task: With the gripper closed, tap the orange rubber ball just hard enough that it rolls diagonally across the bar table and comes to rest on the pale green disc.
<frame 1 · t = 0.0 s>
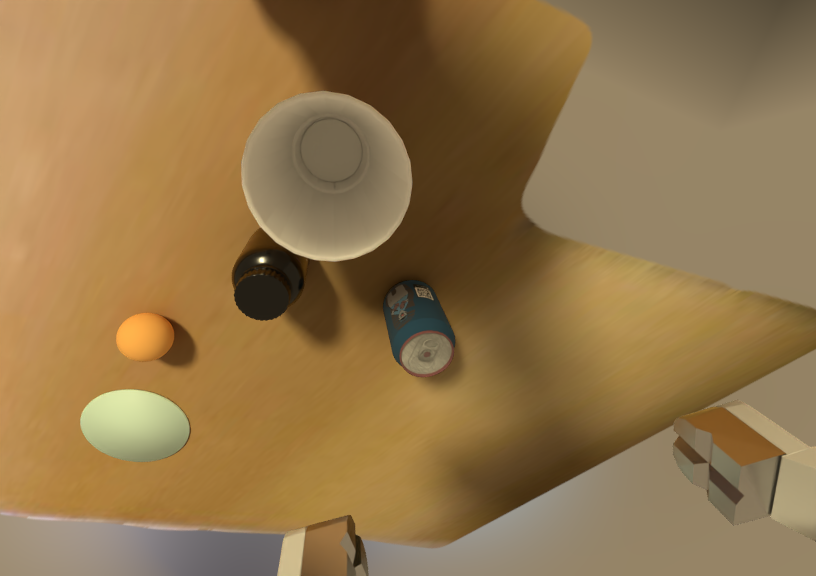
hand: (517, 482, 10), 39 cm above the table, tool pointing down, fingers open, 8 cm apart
cup: (331, 150, 42), on the table
supplement bottle: (279, 249, 46), on the table
pale green disc: (137, 426, 54), on the table
soda can: (408, 299, 52), on the table
ball: (146, 337, 45), on the table
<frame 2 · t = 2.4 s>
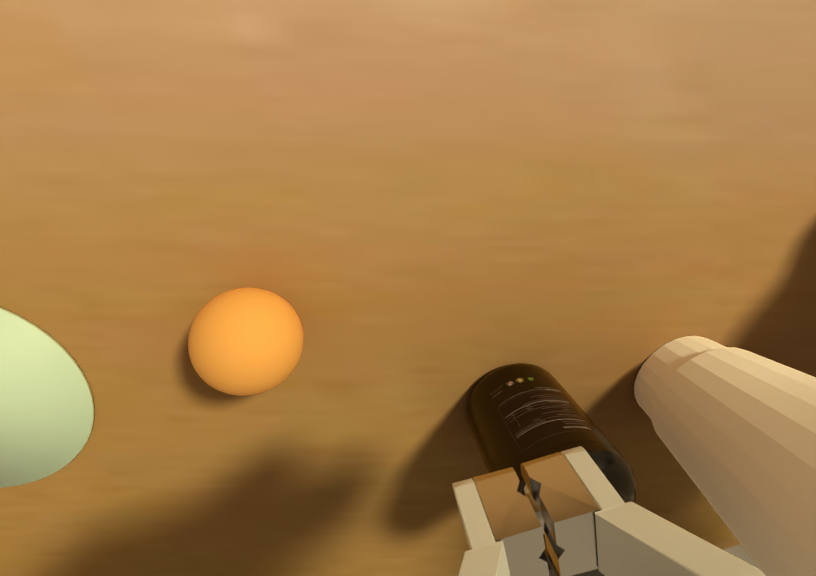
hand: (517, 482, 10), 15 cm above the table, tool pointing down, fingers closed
cup: (675, 375, 30), on the table
supplement bottle: (510, 398, 28), on the table
ball: (248, 340, 21), on the table
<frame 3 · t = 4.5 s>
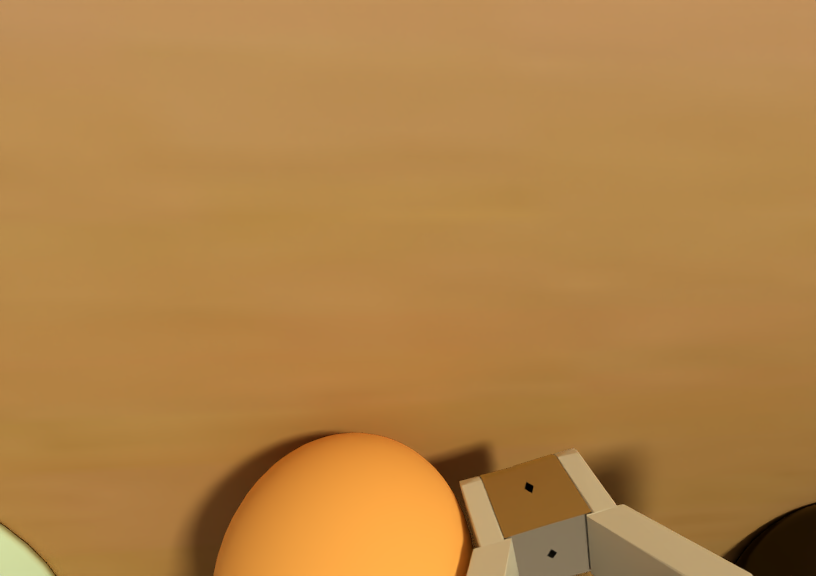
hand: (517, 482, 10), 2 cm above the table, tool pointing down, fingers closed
supplement bottle: (795, 549, 16), on the table
ball: (349, 565, 9), on the table
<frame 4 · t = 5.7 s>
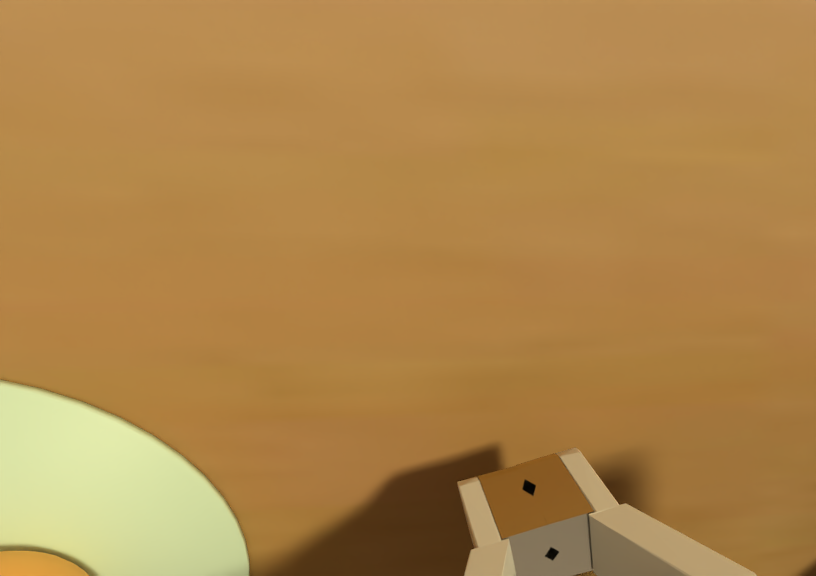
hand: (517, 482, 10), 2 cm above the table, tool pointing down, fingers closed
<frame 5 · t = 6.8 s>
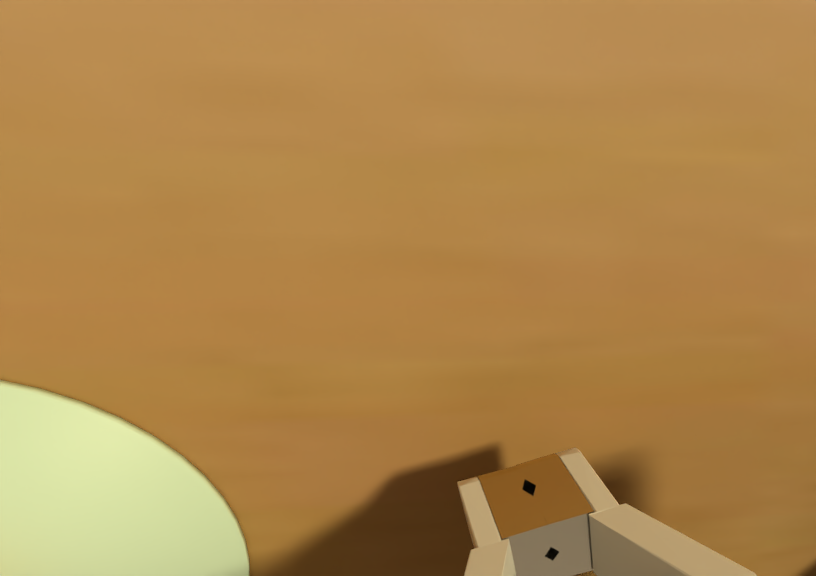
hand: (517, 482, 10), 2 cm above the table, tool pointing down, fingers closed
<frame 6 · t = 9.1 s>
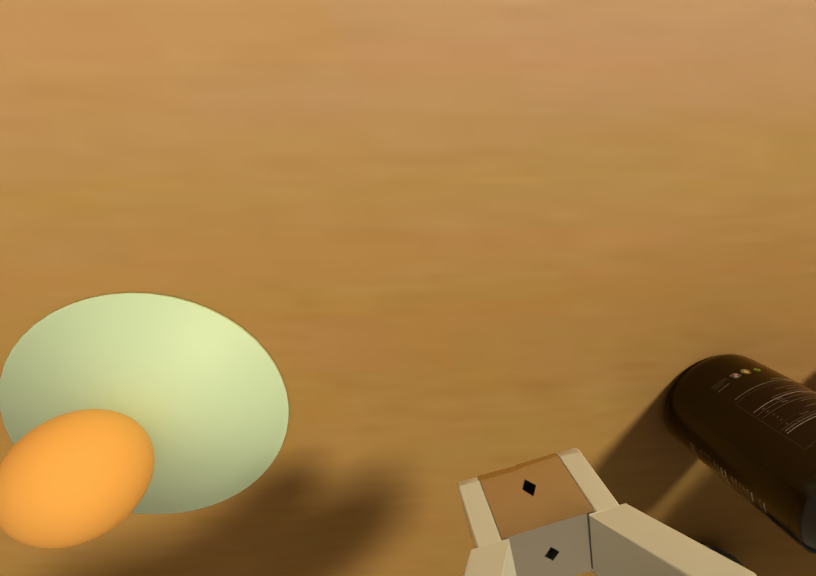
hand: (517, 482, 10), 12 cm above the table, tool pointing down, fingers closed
supplement bottle: (706, 394, 26), on the table
pale green disc: (155, 413, 20), on the table
ball: (80, 474, 18), on the table
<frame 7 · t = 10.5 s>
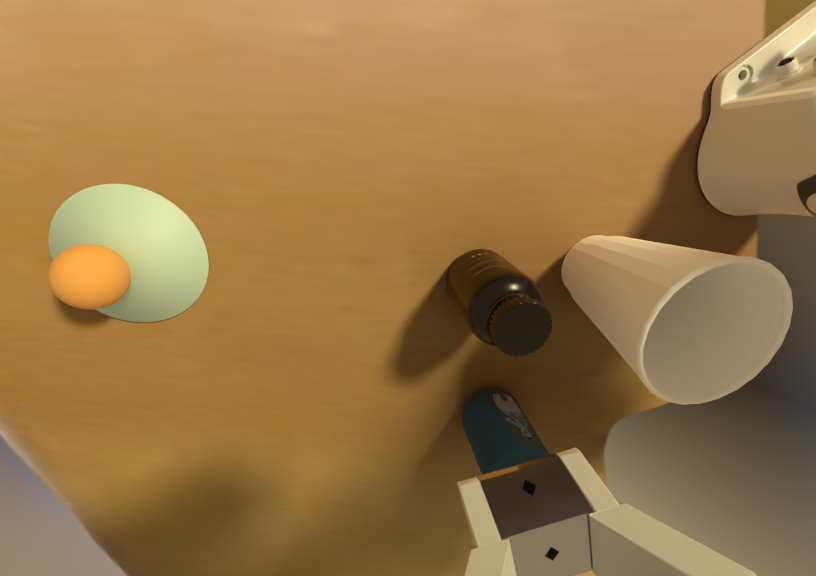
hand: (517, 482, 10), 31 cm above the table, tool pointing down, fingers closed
cup: (590, 265, 43), on the table
supplement bottle: (476, 277, 42), on the table
pale green disc: (132, 256, 36), on the table
soda can: (486, 407, 49), on the table
ball: (91, 276, 34), on the table
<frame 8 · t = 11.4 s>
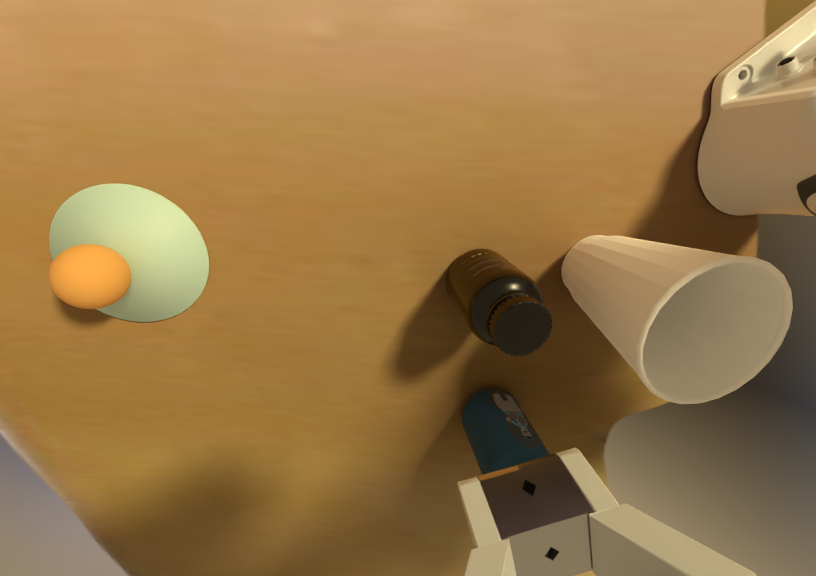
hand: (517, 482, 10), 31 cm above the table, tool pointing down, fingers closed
cup: (590, 265, 43), on the table
supplement bottle: (476, 277, 42), on the table
pale green disc: (132, 256, 36), on the table
soda can: (486, 406, 49), on the table
ball: (91, 276, 34), on the table
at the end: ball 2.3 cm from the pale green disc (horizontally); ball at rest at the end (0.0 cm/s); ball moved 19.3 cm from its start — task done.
